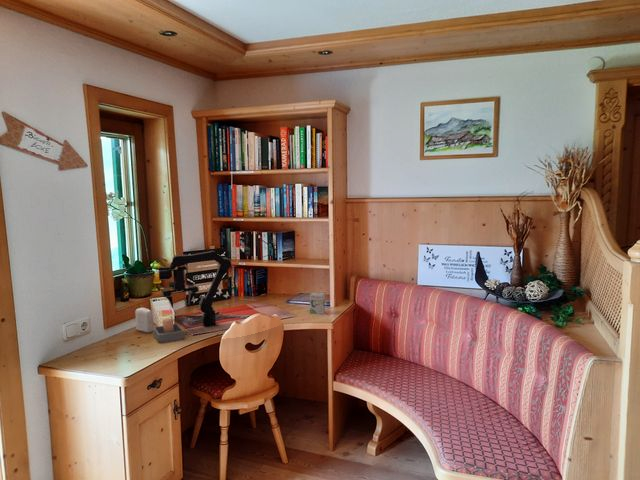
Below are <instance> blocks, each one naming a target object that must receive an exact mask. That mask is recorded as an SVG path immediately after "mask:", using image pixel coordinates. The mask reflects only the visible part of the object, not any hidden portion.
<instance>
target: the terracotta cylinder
mask: <svg viewBox="0 0 640 480" xmlns="http://www.w3.org/2000/svg"><path fill="white" fill-rule="evenodd" d="M173 324H174V319H173V318H165V319H163V320H162V326H163V332H164V334H166V333H172V332H174V328H173Z"/></svg>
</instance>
